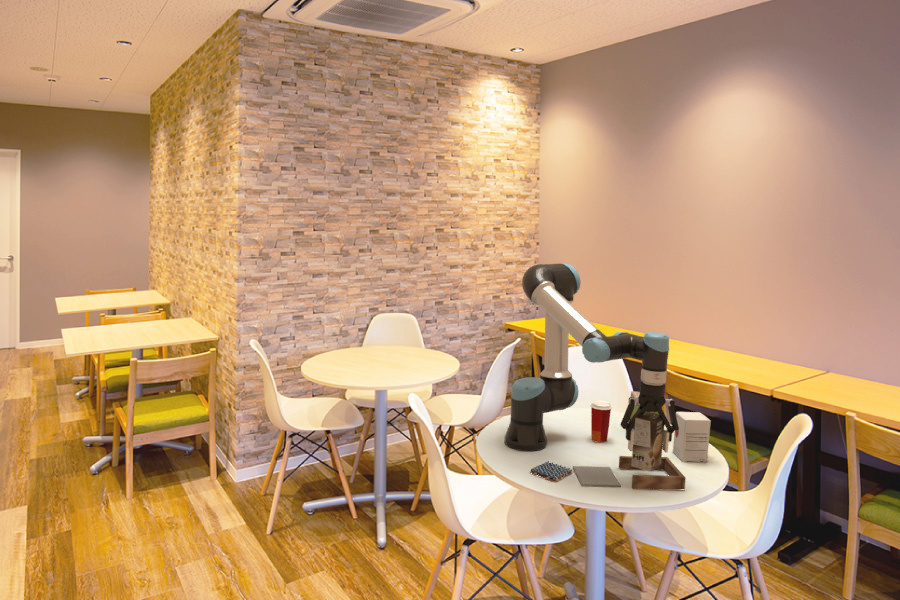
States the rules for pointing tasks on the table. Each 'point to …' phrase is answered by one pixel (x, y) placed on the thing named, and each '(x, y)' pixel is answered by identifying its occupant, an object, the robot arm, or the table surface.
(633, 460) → the coffee box
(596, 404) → the paper cup
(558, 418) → the table surface
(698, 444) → the supplement box
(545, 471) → the woven mat
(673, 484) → the frame
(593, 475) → the slate mat
